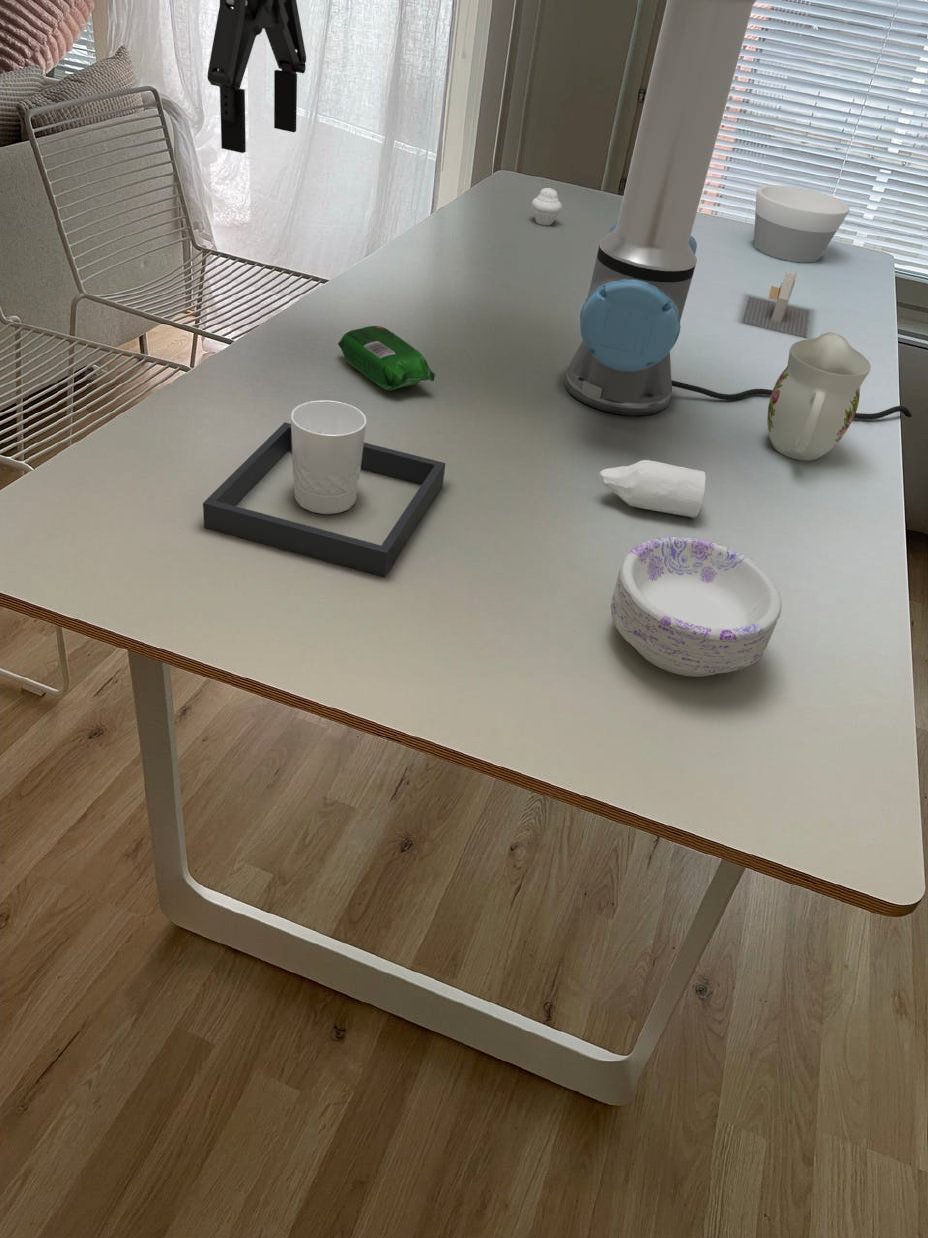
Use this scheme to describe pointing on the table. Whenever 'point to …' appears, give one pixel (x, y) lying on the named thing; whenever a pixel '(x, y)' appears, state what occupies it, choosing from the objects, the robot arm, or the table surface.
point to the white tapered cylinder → (658, 487)
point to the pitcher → (816, 396)
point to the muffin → (546, 206)
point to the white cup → (327, 454)
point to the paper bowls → (694, 606)
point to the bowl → (796, 222)
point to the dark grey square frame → (313, 540)
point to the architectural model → (778, 310)
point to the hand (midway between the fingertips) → (260, 139)
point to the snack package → (384, 357)
